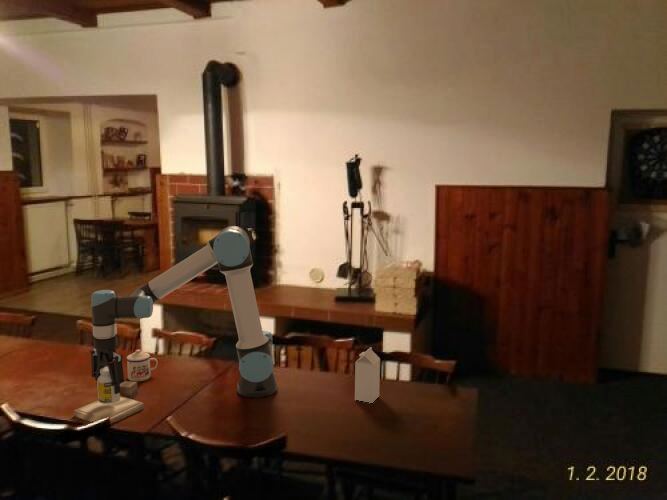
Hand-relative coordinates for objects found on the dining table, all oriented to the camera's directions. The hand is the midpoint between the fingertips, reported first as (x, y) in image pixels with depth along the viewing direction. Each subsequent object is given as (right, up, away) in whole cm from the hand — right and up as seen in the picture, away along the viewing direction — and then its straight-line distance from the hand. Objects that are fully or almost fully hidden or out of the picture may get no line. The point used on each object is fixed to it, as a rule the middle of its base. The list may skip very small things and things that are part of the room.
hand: (109, 399), depth 187 cm
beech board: (0, -5, +1) cm, 5 cm away
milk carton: (+91, -4, +13) cm, 92 cm away
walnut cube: (+1, -3, +14) cm, 14 cm away
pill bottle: (0, -1, 0) cm, 1 cm away
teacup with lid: (+1, 0, +32) cm, 32 cm away
